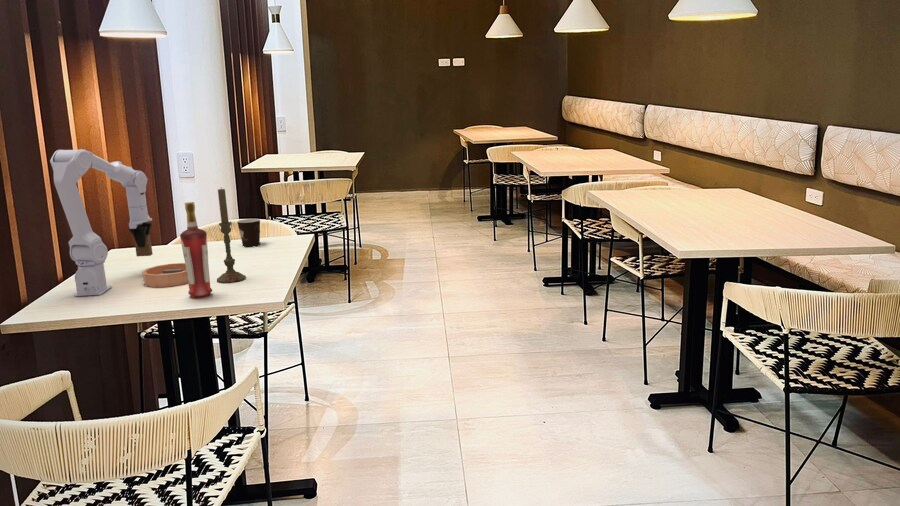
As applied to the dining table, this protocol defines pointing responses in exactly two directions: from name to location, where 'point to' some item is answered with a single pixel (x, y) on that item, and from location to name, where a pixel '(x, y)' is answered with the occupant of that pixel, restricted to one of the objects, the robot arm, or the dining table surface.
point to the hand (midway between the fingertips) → (143, 246)
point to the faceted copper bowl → (165, 275)
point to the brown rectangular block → (144, 250)
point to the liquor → (195, 255)
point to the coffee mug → (249, 232)
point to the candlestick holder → (227, 244)
